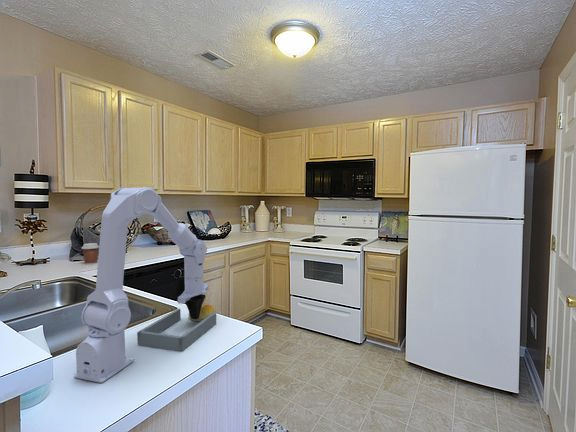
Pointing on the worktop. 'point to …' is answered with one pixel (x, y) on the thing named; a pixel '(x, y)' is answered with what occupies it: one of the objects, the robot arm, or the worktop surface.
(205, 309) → the bread roll
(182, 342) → the open-side box
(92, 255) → the coffee cup
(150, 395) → the worktop surface
